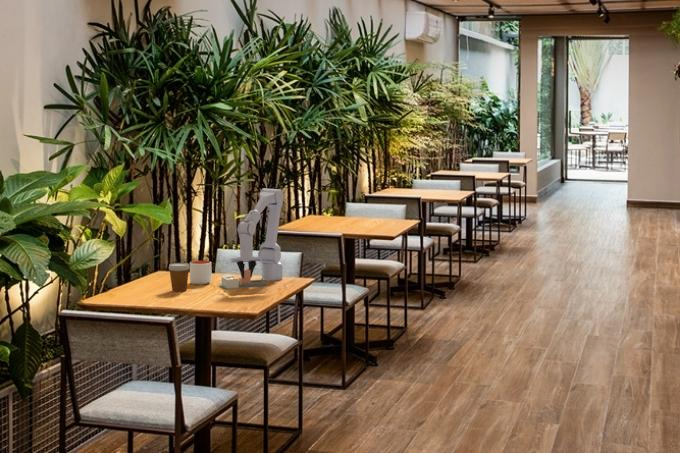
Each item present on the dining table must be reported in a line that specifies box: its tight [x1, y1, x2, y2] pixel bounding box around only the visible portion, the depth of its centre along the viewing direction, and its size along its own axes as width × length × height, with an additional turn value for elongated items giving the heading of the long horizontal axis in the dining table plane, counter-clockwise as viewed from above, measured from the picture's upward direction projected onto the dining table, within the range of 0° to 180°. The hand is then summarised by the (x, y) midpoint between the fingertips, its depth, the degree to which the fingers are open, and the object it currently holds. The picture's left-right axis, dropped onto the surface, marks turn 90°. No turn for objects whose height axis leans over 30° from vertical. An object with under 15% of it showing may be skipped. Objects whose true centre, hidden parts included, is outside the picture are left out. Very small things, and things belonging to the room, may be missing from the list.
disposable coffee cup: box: [168, 262, 190, 293], centre depth 457 cm, size 10×10×12 cm
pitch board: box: [217, 275, 269, 290], centre depth 468 cm, size 21×14×5 cm, turn 113°
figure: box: [238, 268, 252, 286], centre depth 466 cm, size 4×5×7 cm
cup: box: [189, 260, 212, 285], centre depth 476 cm, size 10×10×10 cm
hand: (246, 277), depth 466 cm, fingers closed on figure, 3 cm apart
